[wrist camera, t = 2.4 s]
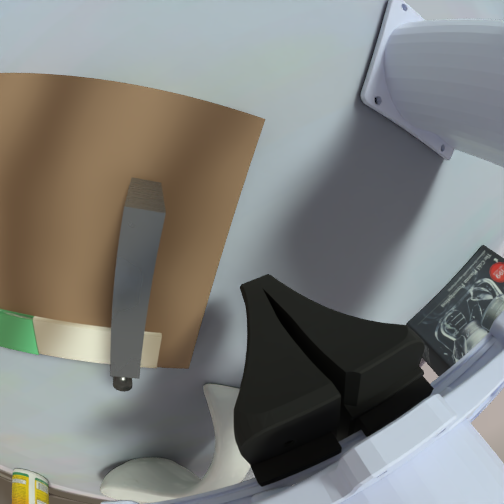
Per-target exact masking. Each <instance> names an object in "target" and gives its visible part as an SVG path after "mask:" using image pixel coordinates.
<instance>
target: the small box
mask: <svg viewBox="0 0 504 504" xmlns="http://www.w3.org/2000/svg"><path fill="white" fill-rule="evenodd" d="M503 310H504V258H502V257H501V256H499V255H498V254H496V253H495V252H493V251H492V250H490V249H489V248H487V247H486V246H484V245H482V246H481V248H480V249H479V250H478V251H477V252H476V253H475V255H474V256H473V257H472V258H471V259H470V260H469V261H468V263H467V264H466V265H465V266H464V267H463V268H462V269H461V270H460V271H459V273H458V274H457V275H456V276H455V277H454V278H453V279H452V280H451V281H450V282H449V283H448V284H447V285H446V286H445V287H444V288H443V289H442V290H441V291H440V292H439V293H438V294H437V295H436V296H435V297H434V298H433V299H432V300H431V301H430V302H429V303H428V304H427V305H426V306H425V307H424V308H423V309H422V310H421V311H420V312H419V313H418V314H416V315H415V316H414V317H413V318H412V319H411V320H410V321H409V322H408V323H407V326H408V327H409V328H410V329H411V330H413V331H414V332H415V333H416V334H417V335H418V336H419V337H420V338H421V339H422V340H423V341H424V344H425V347H424V352H423V355H422V358H423V359H424V360H425V361H426V362H427V364H428V365H429V366H430V367H431V368H432V369H433V370H434V372H436V374H437V375H438V376H441V375H442V374H443V373H444V372H446V371H447V370H448V369H449V368H450V367H452V366H453V365H454V364H455V363H456V362H458V361H459V360H460V359H461V358H462V357H463V356H464V355H466V354H467V353H468V352H469V351H470V350H471V349H472V348H473V347H474V346H475V345H476V344H477V343H479V342H480V341H481V340H482V339H483V338H484V337H485V336H486V335H487V334H488V333H489V331H490V328H491V326H492V324H493V322H494V320H495V319H496V318H497V317H498V315H499V314H500V313H501V312H502V311H503Z"/></svg>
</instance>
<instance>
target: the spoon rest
mask: <svg viewBox="0 0 504 504" xmlns="http://www.w3.org/2000/svg"><path fill="white" fill-rule="evenodd" d="M203 391H204V394H205V397H206V400H207V404H208V407H209V411H210V414H211V417H212V421H213V426H214V431H215V452H214V456H213V460H212V463H211V465H210V467H209V469H208V471H207V473H206V474H205V476H204V477H203V478H202V480H201V479H200V478H199V477H197V476H196V475H195V474H194V473H192V472H191V471H189V470H188V469H186V468H184V467H182V466H180V465H178V464H177V463H176V462H174V461H172V460H169V459H164V458H155V457H148V458H138V459H133V460H130V461H127V462H125V463H124V464H123V465H120V466H118V467H116V468H115V469H113V470H112V471H111V472H109V473H108V474H107V475H106V477H105V478H104V480H103V481H102V484H101V486H100V491H101V493H102V494H104V495H105V496H108V497H110V498H114V499H118V500H132V501H135V502H145V503H154V502H160V501H166V500H172V499H177V498H182V497H187V496H192V495H196V494H200V493H204V492H208V491H212V490H216V489H220V488H223V487H227V486H230V485H234V484H237V483H240V482H242V480H243V479H244V477H245V476H246V474H247V472H248V471H249V469H250V467H251V465H250V464H249V463H248V462H247V461H246V460H245V459H244V458H243V457H242V455H241V454H240V451H239V449H238V446H237V444H236V441H235V436H234V407H235V404H236V400H237V397H238V394H239V391H240V389H239V388H234V387H229V386H224V385H218V384H205V385H204V386H203Z"/></svg>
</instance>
